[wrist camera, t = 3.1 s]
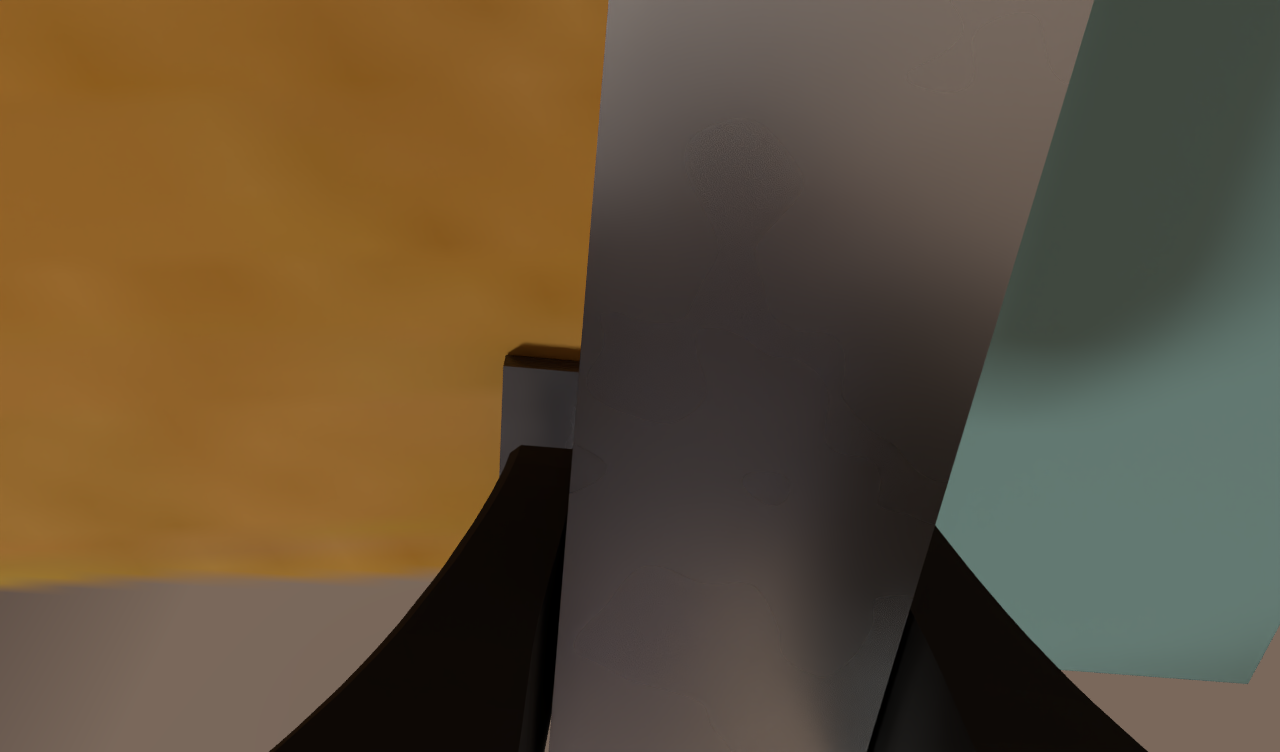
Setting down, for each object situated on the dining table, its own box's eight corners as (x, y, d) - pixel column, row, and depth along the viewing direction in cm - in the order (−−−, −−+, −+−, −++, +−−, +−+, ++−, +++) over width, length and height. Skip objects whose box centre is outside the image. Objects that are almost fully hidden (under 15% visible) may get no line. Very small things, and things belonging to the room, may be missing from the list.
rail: (715, 951, 18) (728, 1208, 15) (536, 939, 18) (512, 1195, 15) (1044, -477, 8) (1257, -539, 5) (658, -523, 8) (657, -613, 5)
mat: (1240, 671, 27) (1248, 684, 27) (862, 642, 27) (865, 655, 27) (1853, -487, 15) (1881, -490, 15) (1196, -568, 15) (1209, -573, 15)
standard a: (769, 569, 26) (785, 694, 23) (498, 548, 25) (477, 672, 22) (808, 381, 23) (831, 494, 20) (506, 355, 23) (483, 465, 20)
